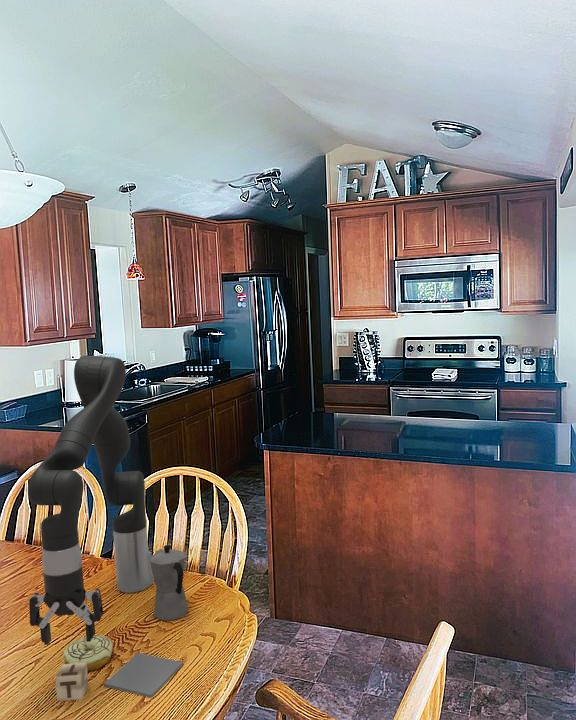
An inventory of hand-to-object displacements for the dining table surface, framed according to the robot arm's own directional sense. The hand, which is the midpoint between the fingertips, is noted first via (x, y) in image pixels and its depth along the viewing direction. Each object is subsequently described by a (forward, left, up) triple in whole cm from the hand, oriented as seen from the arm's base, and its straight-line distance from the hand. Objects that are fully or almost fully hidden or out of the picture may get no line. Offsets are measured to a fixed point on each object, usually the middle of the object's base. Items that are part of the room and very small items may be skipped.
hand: (69, 641), depth 129 cm
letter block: (0, 0, -12) cm, 12 cm away
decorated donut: (-7, -10, -12) cm, 17 cm away
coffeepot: (-31, -16, -12) cm, 37 cm away
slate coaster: (-14, +4, -11) cm, 18 cm away
